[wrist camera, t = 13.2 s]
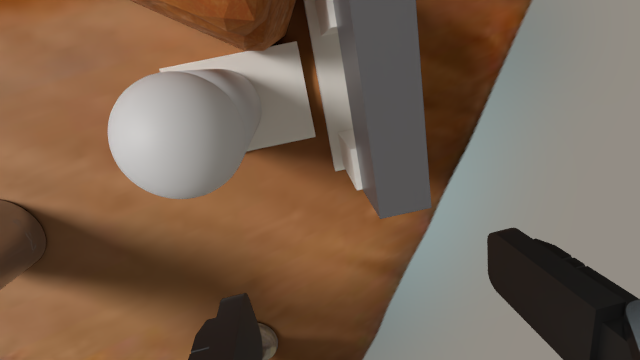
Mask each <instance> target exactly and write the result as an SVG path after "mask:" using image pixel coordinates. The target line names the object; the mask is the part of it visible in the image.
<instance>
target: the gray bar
mask: <svg viewBox="0 0 640 360" xmlns="http://www.w3.org/2000/svg"><path fill="white" fill-rule="evenodd" d="M333 4H334V11H335V17H336V23H337V30H338V36H339V42H340V49H341V55H342V61H343V68H344V74H345V80H346V87H347V93H348V99H349V106H350V112H351V118H352V125H353V131H354V137H355V144H356V150H357V156H358V163H359V169H360V175H361V182H362V188H363V191H364V193H365V194H366V196H367V198H368V199H369V201H370V203H371V204H372V206H373V208H374V209H375V211H376V213H377V214H378V216H379V218H380V219H382V218H387V217H391V216H396V215H400V214H405V213H409V212H414V211H418V210H423V209H427V208H431V197H430V184H429V170H428V157H427V144H426V131H425V117H424V104H423V91H422V78H421V65H420V51H419V38H418V25H417V12H416V0H333Z"/></svg>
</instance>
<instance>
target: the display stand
mask: <svg viewBox="0 0 640 360" xmlns="http://www.w3.org/2000/svg"><path fill="white" fill-rule="evenodd" d="M303 1H304V7H305V12H306V18H307V23H308V29H309V34H310V39H311V45H312V50H313V56H314V61H315V67H316V72H317V77H318V83H319V88H320V94H321V99H322V105H323V110H324V115H325V121H326V126H327V132H328V137H329V143H330V148H331V154H332V159H333V164H334V169H335V171H340V170H344V169H345V170H346V171H347V173H348V175H349V177H350V179H351V180H352V182H353V184H354V186H355V188H356V189H357V190H361V189H363V188H362V182H361V175H360V169H359V163H358V156H357V150H356V144H355V137H354V131H353V125H352V118H351V112H350V106H349V99H348V93H347V87H346V80H345V74H344V68H343V61H342V55H341V49H340V42H339V36H338V30H337V23H336V17H335V11H334V4H333V0H303ZM159 70H160V73H156V74H152V75H149V76H146V77H144V78H142V79H140V80H138V81H136V82H135V83H133V84H132V85H131V86H129V87H128V88H127V89H126V90H125V91H124V92H123V93H122V94H121V95H120V97H119V98H118V100H117V101H116V103H115V105H114V107H113V109H112V111H111V114H110V118H109V122H108V141H109V146H110V150H111V152H112V155H113V157H114V159H115V161H116V163H117V165H118V166H119V168H120V169H121V171H122V172H123V173H124V174H125V175H126V176H127V177H128V178H129V179H130V180H131V181H132V182H133V183H135V184H136V185H138V186H139V187H141V188H142V189H144V190H146V191H148V192H150V193H152V194H155V195H158V196H162V197H167V198H173V199H189V198H195V197H199V196H203V195H206V194H208V193H211V192H213V191H214V190H216V189H218V188H219V187H221V186H222V185H224V184H225V183H226V182H227V181H228V180H229V179H230V178H231V177H232V176H233V174H234V173H235V172H236V170H237V169H238V167H239V165H240V163H241V161H242V159H243V157H244V155H245V153H246V151H251V150H256V149H260V148H265V147H270V146H275V145H279V144H284V143H289V142H294V141H298V140H303V139H308V138H313V137H316V136H315V131H314V126H313V121H312V116H311V111H310V106H309V101H308V96H307V90H306V85H305V80H304V75H303V70H302V65H301V60H300V55H299V50H298V45H297V41H295V42H290V43H285V44H280V45H275V46H270V47H269V48H267V49H266V50H264V51H246V52H241V53H236V54H231V55H226V56H221V57H216V58H211V59H206V60H201V61H196V62H191V63H186V64H181V65H176V66H171V67H166V68H162V69H159Z"/></svg>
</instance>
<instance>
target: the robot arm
mask: <svg viewBox="0 0 640 360" xmlns="http://www.w3.org/2000/svg"><path fill="white" fill-rule="evenodd" d="M487 243H488V275H489V279H490V281H491V283H492V285H493V287H494V289H495V290H496V291H497V292H498V293H499V294H500V295H501V296H502V297H503V298H504V299H505V300H506V301H507V302H508V304H510V306H511V307H512V308H514V310H515V311H516V312H517V313H519V315H520V316H521V317H522V318H523V319H524V320H525V321H526V322H527V323H528V324H529V325H530V326H531V327H532V328H533V329H534V330H535V331H536V332H537V333H538V334H539V335H540V336H541V337H542V338H543V339H544V340H545V341H546V342H547V343H548V344H549V345H550V346H551V347H552V348H553V349H554V350H555V351H556V353H557V354H559V356H560V357H561V358H562V359H563V360H640V299H638V298H637V297H635V296H634V295H632V294H631V293H629V292H627V291H626V290H624V289H623V288H621V287H620V286H618V285H616V284H615V283H613V282H612V281H610V280H609V279H607V278H605V277H604V276H602V275H601V274H599V273H598V272H596V271H594V270H593V269H591V268H590V267H588V266H585V265H584V264H583V263H582V262H580V261H579V260H577V259H576V258H572V257H571V255H569V254H568V253H566V252H565V251H563V250H562V249H560V248H558V247H557V246H555V245H552V244H550V243H547V242H544V241H541V240H538V239H532V238H530V237H529V236H527V235H526V234H524V233H523V232H521V231H520V230H518V229H516V228H509V229H505V230H501V231H497V232H493V233H490V234H489V236H488V240H487ZM45 248H46V238H45V234H44V231H43V229H42V227H41V225H40V224H39V223H38V221H37V220H36V219H35V218H34V217H33V216H32V215H31V214H30V213H29V212H27V211H26V210H24V209H23V208H21V207H19V206H17V205H15V204H13V203H10V202H6V201H3V200H0V290H1V289H2V288H3V287H5V286H6V285H7V284H8V283H10V282H11V281H12V280H14V279H15V278H16V277H17V276H19V275H20V274H21V273H23V272H24V271H25V270H26V269H28V268H29V267H30V266H31V265H33V264H34V263H35V262H36V261H38V260H39V259H40V257H41V256H42V255H43V253H44V251H45ZM262 353H263V345H262V337H261V332H260V328H259V326H258V323H257V320H256V317H255V314H254V311H253V308H252V305H251V303H250V300H249V297H248V295H247V294H246V293H243V294H239V295H235V296H231V297H227V298H223V299H222V300H221V302H220V306H219V310H218V313H217V317H216V318H213V319H209V320H207V321H206V322H205V323H204V325H203V326H202V327H201V329H200V330H199V332H198V333H197V334H196V337H195V340H194V343H193V346H192V349H191V354H190V356H189V359H188V360H262Z"/></svg>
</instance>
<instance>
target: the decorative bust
mask: <svg viewBox="0 0 640 360" xmlns="http://www.w3.org/2000/svg"><path fill="white" fill-rule="evenodd" d="M258 326H259V328H260V332H261V337H262V345H263V353H262V360H268V359H270V358H271V357H272V356H273V355H274V354H275V352H276V350H277V348H278V339H277V336H276V334H275V333H274V331H273V330H272V329H271V328H269V327H268V326H266V325H264V324H261V323H258Z"/></svg>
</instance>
